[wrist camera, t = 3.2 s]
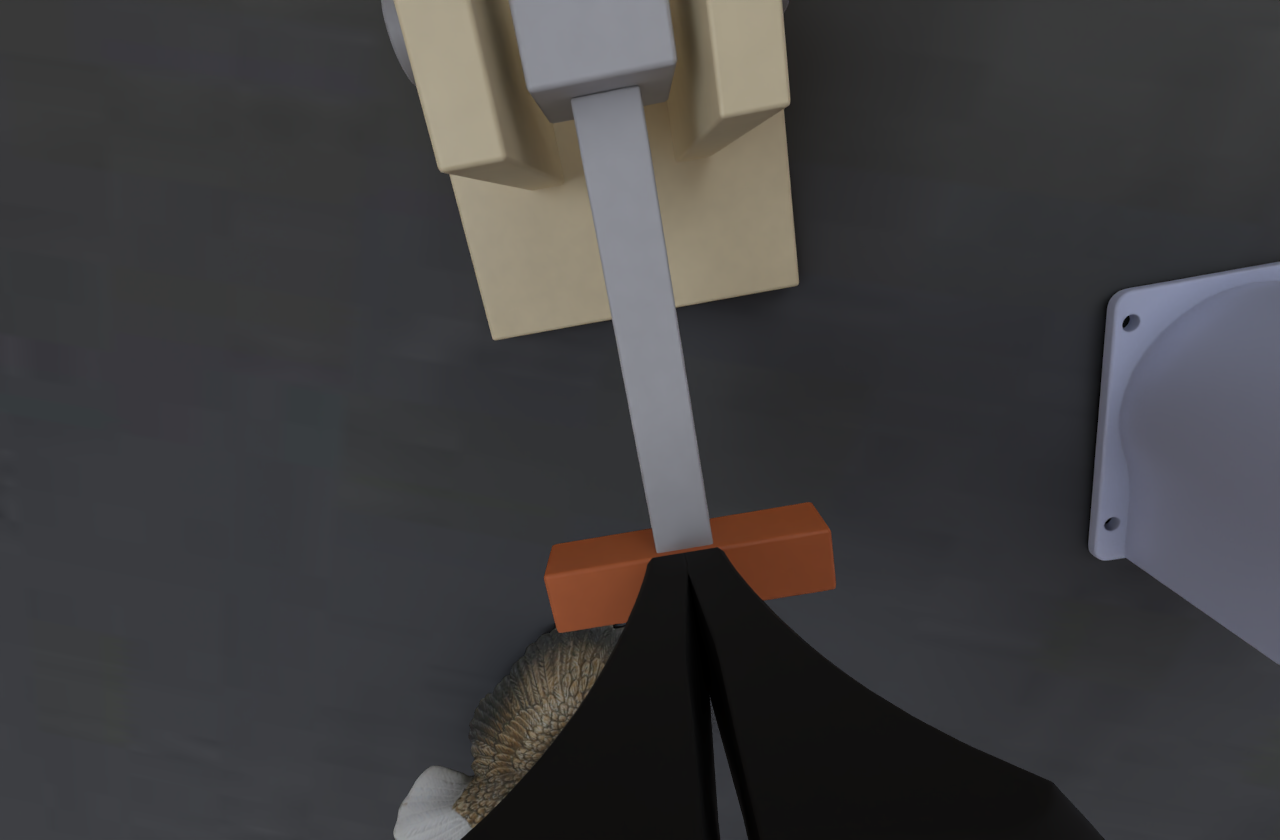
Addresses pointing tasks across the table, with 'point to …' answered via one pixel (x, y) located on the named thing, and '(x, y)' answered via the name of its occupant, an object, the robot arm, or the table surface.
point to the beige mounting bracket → (553, 171)
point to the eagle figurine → (508, 733)
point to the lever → (644, 317)
